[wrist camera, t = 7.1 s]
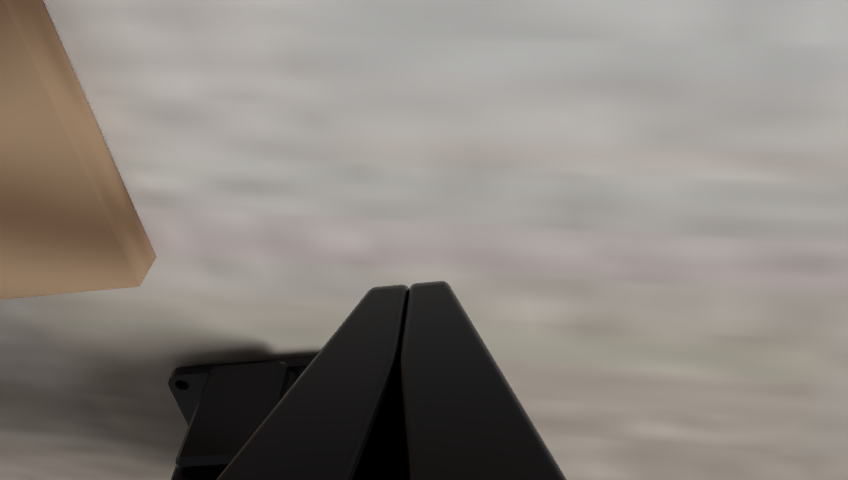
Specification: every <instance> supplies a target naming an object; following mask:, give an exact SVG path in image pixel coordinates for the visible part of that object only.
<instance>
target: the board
mask: <svg viewBox="0 0 848 480" xmlns="http://www.w3.org/2000/svg"><path fill="white" fill-rule="evenodd" d="M155 259H156V255H155V253H154V251H153V249H152V246H151V244H150V242H149V240H148V237H147V235H146V233H145V230H144V228H143V226H142V224H141V221H140V219H139V217H138V215H137V212H136V210H135V208H134V206H133V203H132V201H131V199H130V197H129V194H128V192H127V190H126V188H125V185H124V183H123V181H122V178H121V176H120V174H119V172H118V169H117V167H116V165H115V163H114V160H113V158H112V156H111V154H110V151H109V149H108V147H107V145H106V142H105V140H104V138H103V136H102V133H101V131H100V129H99V126H98V124H97V122H96V120H95V117H94V115H93V113H92V111H91V108H90V106H89V104H88V102H87V99H86V97H85V95H84V93H83V90H82V88H81V86H80V83H79V81H78V79H77V77H76V74H75V72H74V70H73V68H72V65H71V63H70V61H69V59H68V56H67V54H66V52H65V50H64V47H63V45H62V43H61V41H60V38H59V36H58V34H57V31H56V29H55V27H54V25H53V22H52V20H51V18H50V16H49V13H48V11H47V9H46V7H45V4H44V2H43V0H0V299H8V298H18V297H29V296H40V295H51V294H61V293H72V292H83V291H94V290H104V289H115V288H126V287H137V286H140V285H141V283H142V281H143V279H144V278H145V276H146V274H147V272H148V271H149V269H150V267H151V266H152V264H153V262H154V260H155Z"/></svg>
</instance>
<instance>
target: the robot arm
mask: <svg viewBox="0 0 848 480" xmlns="http://www.w3.org/2000/svg"><path fill="white" fill-rule="evenodd" d="M182 380H184V381H182ZM185 381H186V382H185ZM168 384H169V387H170V389H171V391H172V393H173V395H174V397H175V399H176V401H177V403H178V405H179V407H180V409H181V411H182V413H183V415H184V417H185V419H186V421H187V423H188V426H189V427H188V429H187V432H186V435H185V437H184V440H183V442H182V445H181V448H180V450H179V453H178V455H177V458H176V467H175V470H174V472H173V475H172V478H171V480H566V478H565V476H564V475H563V473H562V471H561V470H560V468H559V466H558V465H557V463H556V461H555V460H554V458H553V456H552V455H551V453H550V451H549V450H548V448H547V446H546V445H545V443H544V441H543V440H542V438H541V437H540V435H539V433H538V432H537V430H536V428H535V427H534V425H533V423H532V422H531V420H530V418H529V417H528V415H527V413H526V412H525V410H524V408H523V407H522V405H521V403H520V402H519V400H518V398H517V397H516V395H515V393H514V392H513V390H512V388H511V387H510V385H509V383H508V382H507V380H506V378H505V377H504V375H503V374H502V372H501V370H500V369H499V367H498V365H497V364H496V362H495V360H494V359H493V357H492V355H491V354H490V352H489V350H488V349H487V347H486V345H485V344H484V342H483V340H482V339H481V337H480V335H479V334H478V332H477V330H476V329H475V327H474V325H473V324H472V322H471V320H470V319H469V317H468V315H467V314H466V312H465V311H464V309H463V307H462V306H461V304H460V302H459V301H458V299H457V297H456V296H455V294H454V292H453V291H452V289H451V287H450V286H449V285H448V284H447V283H446V282H444V281H437V282H426V283H416V284H413V285H412V286H411V287H410V289H409V288H408V287H407V286H405V285H393V286H382V287H375V288H372V289H371V290H369V291H368V293H367V294H366V295H365V296H364V297H363V299H362V300H361V301H360V302H359V304H358V305H357V306H356V307H355V309H354V310H353V311H352V312H351V314H350V315H349V316H348V317H347V319H346V320H345V321H344V322H343V324H342V325H341V326H340V327H339V328H338V330H337V331H336V332H335V333H334V335H333V336H332V337H331V338H330V340H329V341H328V342H327V343H326V345H325V346H324V347H323V348H322V350H321V351H320V352H319V353H318V354H317V356H315V357H302V358H290V359H277V360H265V361H252V362H240V363H227V364H215V365H202V366H190V367H180V368H176V369H175V370H174V371H173V372H172V374H171V377H170V379H169V382H168Z"/></svg>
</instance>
